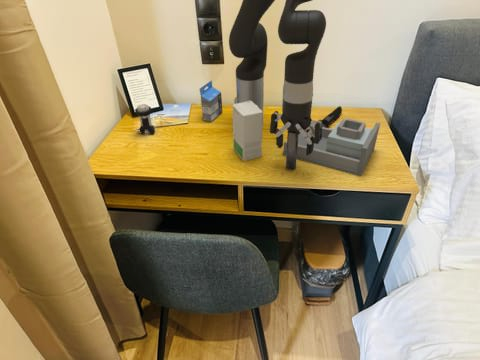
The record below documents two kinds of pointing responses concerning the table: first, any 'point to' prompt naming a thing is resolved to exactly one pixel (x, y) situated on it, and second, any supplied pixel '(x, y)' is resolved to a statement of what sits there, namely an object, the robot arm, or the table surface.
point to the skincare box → (247, 130)
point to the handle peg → (291, 150)
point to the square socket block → (348, 138)
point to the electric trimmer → (331, 117)
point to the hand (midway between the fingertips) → (294, 150)
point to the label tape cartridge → (210, 102)
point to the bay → (336, 160)
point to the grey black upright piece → (145, 119)
